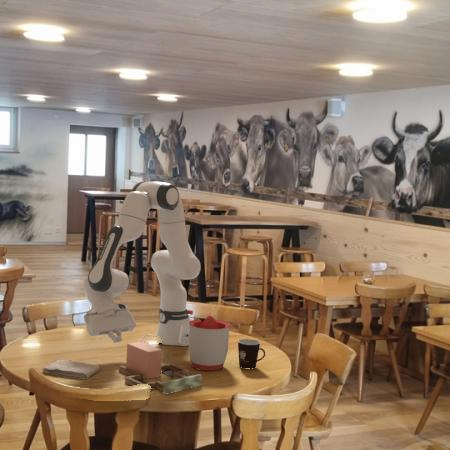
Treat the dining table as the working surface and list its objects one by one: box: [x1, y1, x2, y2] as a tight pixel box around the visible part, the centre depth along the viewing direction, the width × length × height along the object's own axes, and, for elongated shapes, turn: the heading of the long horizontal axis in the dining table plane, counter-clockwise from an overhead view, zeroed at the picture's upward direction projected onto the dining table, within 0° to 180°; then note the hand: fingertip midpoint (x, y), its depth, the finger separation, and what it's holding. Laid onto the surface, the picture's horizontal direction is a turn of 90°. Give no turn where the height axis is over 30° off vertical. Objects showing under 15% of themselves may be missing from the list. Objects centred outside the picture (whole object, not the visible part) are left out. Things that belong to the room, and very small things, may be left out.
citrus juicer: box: [188, 315, 231, 371], centre depth 261 cm, size 16×17×20 cm
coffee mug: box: [237, 338, 266, 370], centre depth 262 cm, size 12×9×10 cm
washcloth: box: [42, 359, 101, 380], centre depth 246 cm, size 12×18×3 cm, turn 76°
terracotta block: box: [125, 341, 163, 380], centre depth 248 cm, size 6×13×10 cm, turn 44°
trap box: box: [118, 363, 202, 395], centre depth 243 cm, size 24×29×4 cm
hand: (118, 341), depth 259 cm, fingers closed
